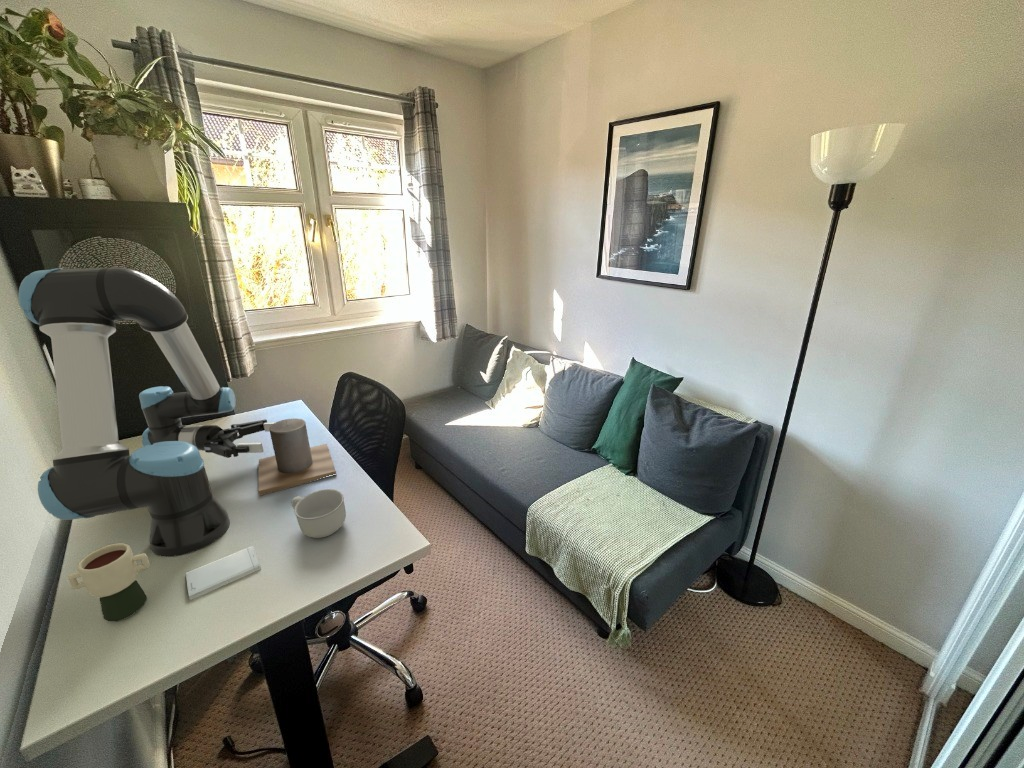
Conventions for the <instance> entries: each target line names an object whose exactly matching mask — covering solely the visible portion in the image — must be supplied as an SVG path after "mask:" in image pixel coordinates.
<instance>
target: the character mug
mask: <svg viewBox="0 0 1024 768" xmlns="http://www.w3.org/2000/svg"><path fill="white" fill-rule="evenodd" d="M140 560H141V563H142V564H139V565H138V563H137V561H140ZM149 567H151V563H150V561H149V557H148V556H147V554H146V553H139V554H136V555H134V553H133V551H132V547H131V546H130V545H129V544H127V543H124V542H116V543H111V544H107V545H105V546H102V547H100V548H98V549H95V550H94V551H92V552H90V553H88V554H87V555H86V556H84V557H83V558H82V559H81V560H80V561H79V562H78V564H77V567H76V568H77V571H76V572H73V573H71V574H69V575H67V580H68V582H69V584H70V586H71V589H73V590H80V589H83V588H85V589H86V592H87V593H89V595H91V596H92V597H93V598H99V603H100V609H101V612H102V613H101V614H102V617H103V620H105V621H107V622H108V623H109V622H110V623H113V622H114V623H115V622H116V623H118V622H120V621H122V620H126V619H128V618H129V617H132V615H134V614H137V612H138V611H140V609H141V608H143V607H144V605H145V604H146V603H147V601H148V596H147V594H146V592H145V590H144V589H143V588H142V585H140V583H139V582H138V581H137V578H138V576H139V574H140V571H144V570H146V569H149ZM78 578H81V582H79V581H78Z"/></svg>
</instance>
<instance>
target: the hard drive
mask: <svg viewBox="0 0 1024 768" xmlns="http://www.w3.org/2000/svg"><path fill="white" fill-rule="evenodd" d="M261 567H262V566H261V564H260V562H259V558H258V556H257V553H256V550H255V547H254V546H253V545H251V546H249V547H245V548H244V549H241V550H238V551H236V552H234V553H231V554H229V555H227V556H224V557H222V558H219V559H217V560H214V561H211V562H209V563H207V564H204V565H202V566H199V567H197V568H194V569H192V570H190V571H187V572H185V577H186V578H185V579H186V586H187V593H188V599H189V601H191V600H193V599H195V598H198V597H201V596H202V595H205V594H207V593H210V592H211V591H214V590H216V589H219V588H222V586H225V585H227V584H230V583H231V582H234V581H237V580H239V579H241V578H243V577H246V576H249V575H250V574H253V573H255V572H256V571H259V570H261V569H262V568H261Z"/></svg>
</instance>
